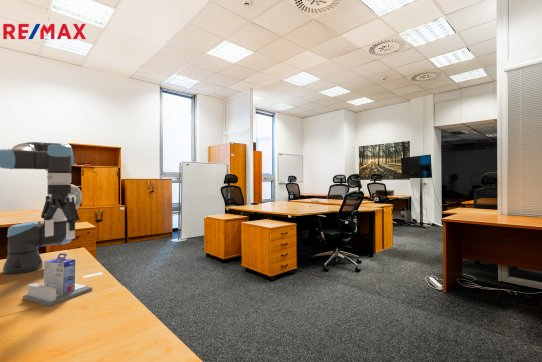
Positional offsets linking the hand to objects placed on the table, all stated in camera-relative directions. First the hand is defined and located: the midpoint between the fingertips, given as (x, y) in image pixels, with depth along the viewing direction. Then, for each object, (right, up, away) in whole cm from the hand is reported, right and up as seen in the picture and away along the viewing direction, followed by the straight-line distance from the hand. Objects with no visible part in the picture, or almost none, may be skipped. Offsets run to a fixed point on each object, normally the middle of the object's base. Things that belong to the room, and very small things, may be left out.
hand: (59, 237), depth 110 cm
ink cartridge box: (0, -21, 0) cm, 21 cm away
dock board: (0, -23, 0) cm, 23 cm away
